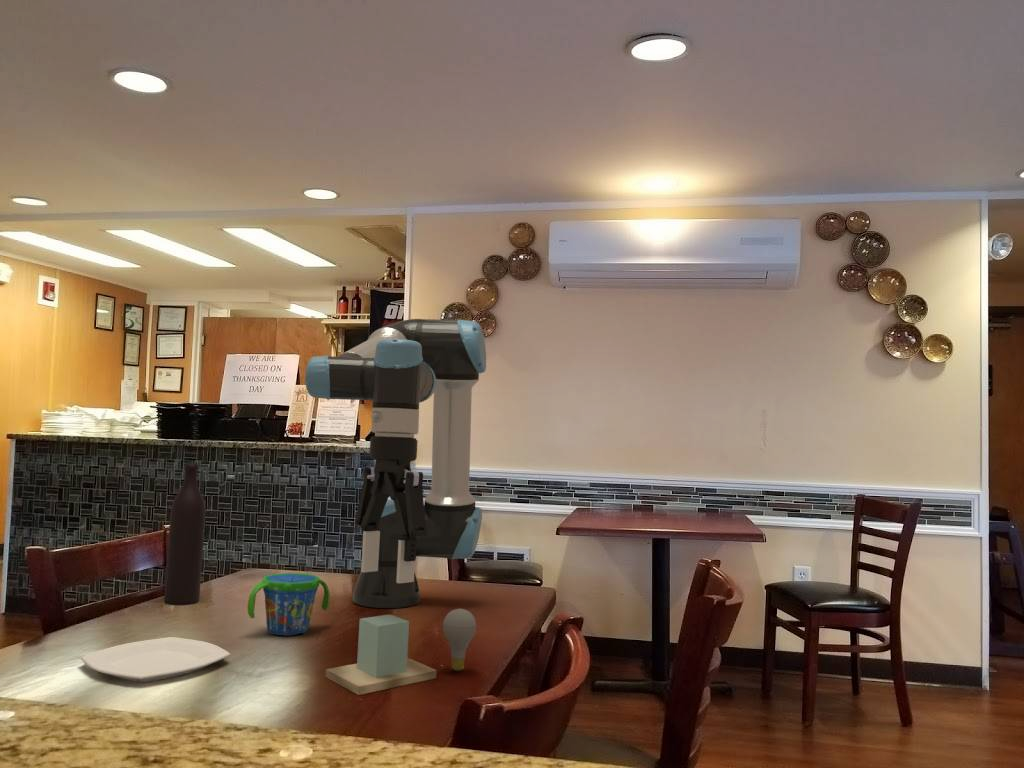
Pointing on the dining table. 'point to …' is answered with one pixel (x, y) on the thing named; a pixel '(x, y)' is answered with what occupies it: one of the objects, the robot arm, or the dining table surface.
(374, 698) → the dining table surface
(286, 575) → the snack cup
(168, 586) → the wine bottle
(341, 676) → the stand
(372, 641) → the grey-green block
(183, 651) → the plate
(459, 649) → the light bulb
